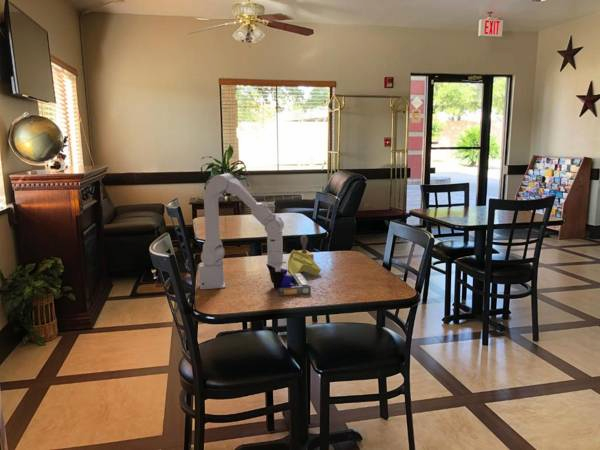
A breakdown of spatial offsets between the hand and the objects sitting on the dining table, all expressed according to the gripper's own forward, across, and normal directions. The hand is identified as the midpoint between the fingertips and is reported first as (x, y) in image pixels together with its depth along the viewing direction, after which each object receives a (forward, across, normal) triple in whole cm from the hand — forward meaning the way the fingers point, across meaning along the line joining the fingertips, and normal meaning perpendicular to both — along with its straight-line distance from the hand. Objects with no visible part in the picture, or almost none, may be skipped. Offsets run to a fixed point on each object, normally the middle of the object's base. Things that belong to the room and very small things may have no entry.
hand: (275, 285), depth 183 cm
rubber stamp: (+2, +41, -19) cm, 45 cm away
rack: (+2, 0, -5) cm, 6 cm away
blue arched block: (+1, 0, -3) cm, 3 cm away
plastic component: (+2, +23, -15) cm, 27 cm away
